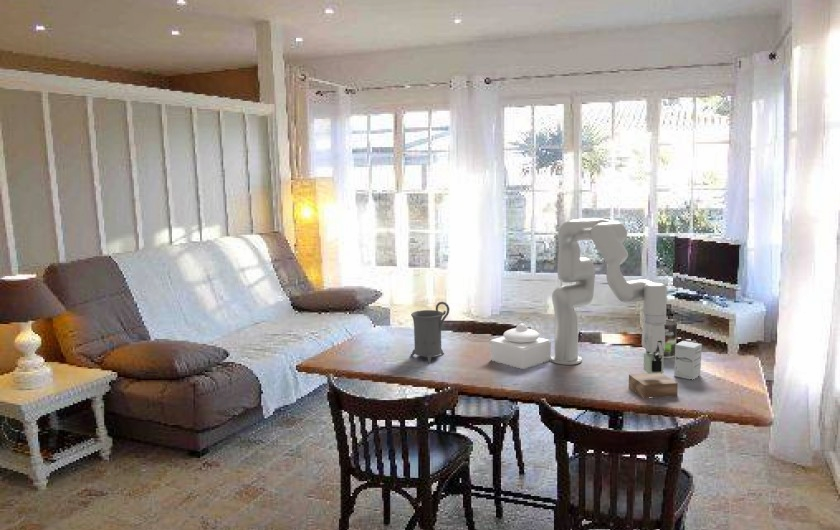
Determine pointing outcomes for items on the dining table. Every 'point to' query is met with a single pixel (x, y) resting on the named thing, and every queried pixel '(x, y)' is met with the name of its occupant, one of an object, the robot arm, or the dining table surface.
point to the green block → (650, 363)
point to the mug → (428, 331)
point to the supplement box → (687, 360)
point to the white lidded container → (520, 348)
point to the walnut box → (653, 385)
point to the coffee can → (670, 339)
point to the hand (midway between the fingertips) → (653, 368)
